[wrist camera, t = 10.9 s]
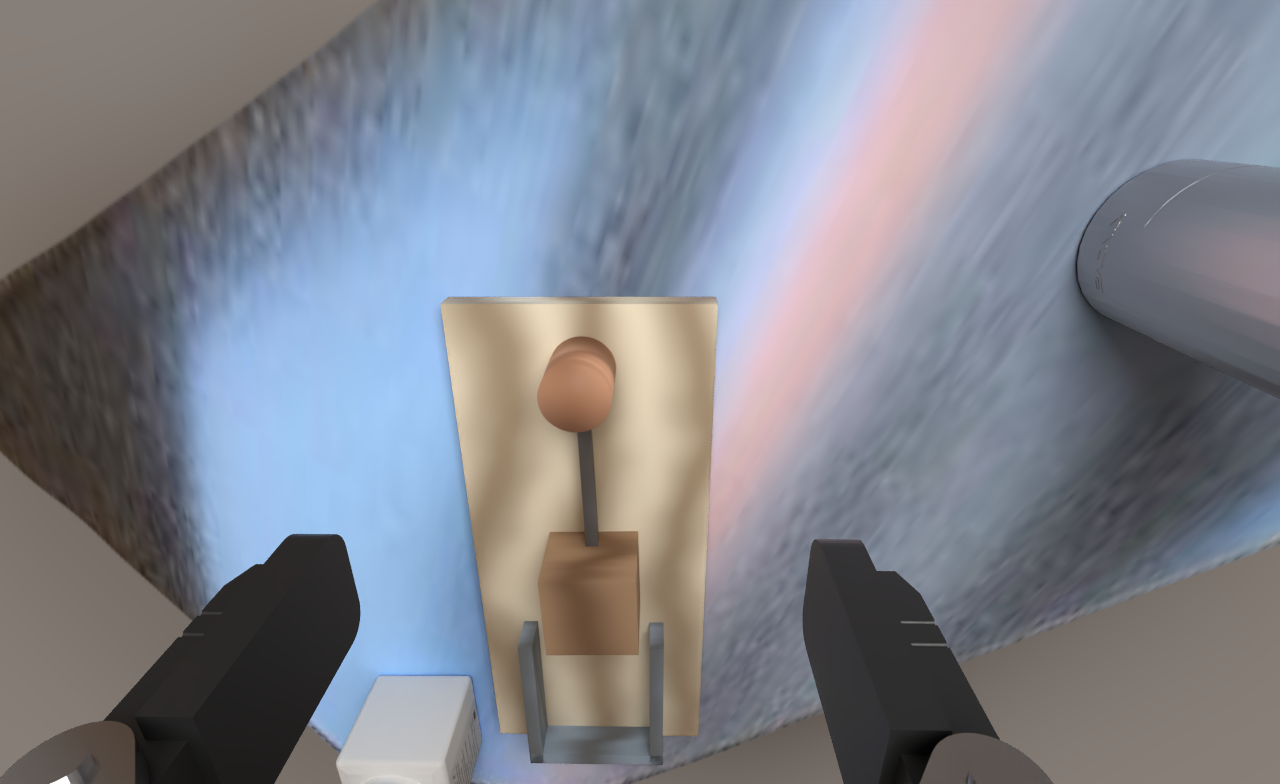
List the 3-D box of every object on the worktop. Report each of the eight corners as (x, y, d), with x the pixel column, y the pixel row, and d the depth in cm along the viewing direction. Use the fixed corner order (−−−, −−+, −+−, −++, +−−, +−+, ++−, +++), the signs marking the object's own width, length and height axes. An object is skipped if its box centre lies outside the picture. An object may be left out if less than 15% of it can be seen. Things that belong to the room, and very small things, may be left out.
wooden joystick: (631, 335, 37) (628, 367, 33) (640, 599, 45) (638, 654, 41) (530, 337, 37) (512, 369, 33) (556, 600, 46) (546, 655, 41)
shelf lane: (715, 296, 38) (722, 317, 34) (696, 719, 52) (700, 765, 49) (448, 296, 38) (426, 317, 34) (504, 716, 53) (493, 762, 49)
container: (393, 738, 54) (321, 915, 42) (376, 673, 51) (293, 844, 39) (483, 739, 54) (435, 917, 42) (472, 673, 51) (416, 845, 39)
